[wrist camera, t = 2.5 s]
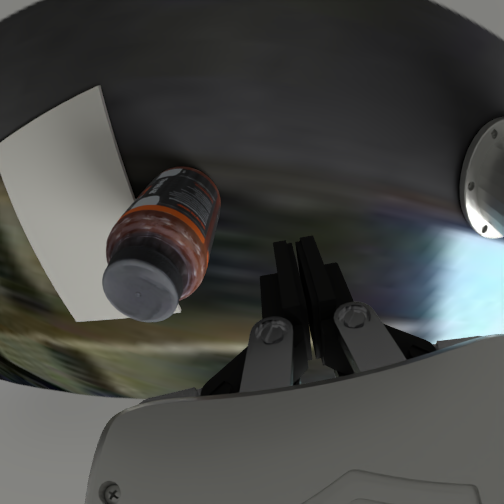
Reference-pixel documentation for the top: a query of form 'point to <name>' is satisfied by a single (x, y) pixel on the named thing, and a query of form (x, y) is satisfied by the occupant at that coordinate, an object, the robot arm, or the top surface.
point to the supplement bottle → (162, 245)
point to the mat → (70, 197)
